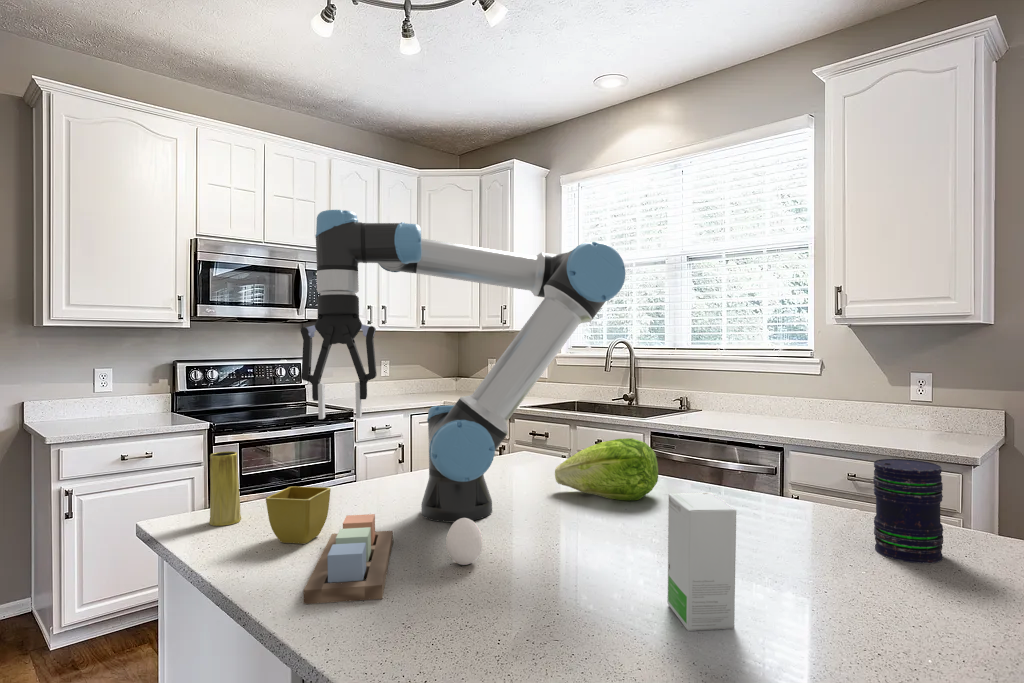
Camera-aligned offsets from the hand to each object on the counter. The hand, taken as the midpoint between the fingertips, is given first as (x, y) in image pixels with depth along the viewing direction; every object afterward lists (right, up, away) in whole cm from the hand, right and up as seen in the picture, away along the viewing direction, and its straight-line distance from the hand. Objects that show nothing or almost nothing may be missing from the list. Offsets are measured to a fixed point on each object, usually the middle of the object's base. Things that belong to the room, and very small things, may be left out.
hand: (340, 417), depth 118 cm
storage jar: (+99, -22, -12) cm, 102 cm away
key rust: (+5, -21, -7) cm, 23 cm away
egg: (+24, -23, -14) cm, 36 cm away
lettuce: (+54, -22, +29) cm, 65 cm away
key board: (+6, -23, -15) cm, 28 cm away
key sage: (+6, -21, -15) cm, 27 cm away
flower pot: (-8, -23, 0) cm, 24 cm away
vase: (-27, -24, +13) cm, 38 cm away
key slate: (+7, -21, -23) cm, 32 cm away
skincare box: (+57, -22, -35) cm, 71 cm away
